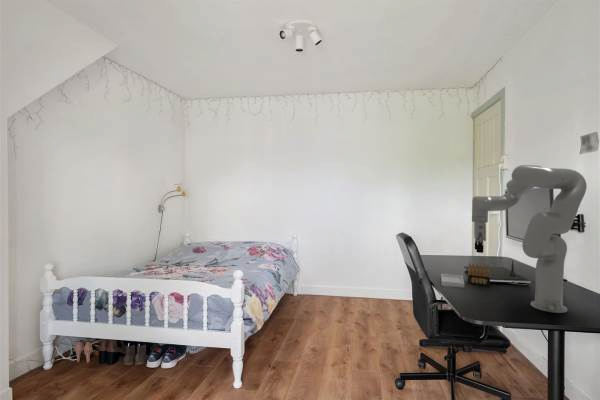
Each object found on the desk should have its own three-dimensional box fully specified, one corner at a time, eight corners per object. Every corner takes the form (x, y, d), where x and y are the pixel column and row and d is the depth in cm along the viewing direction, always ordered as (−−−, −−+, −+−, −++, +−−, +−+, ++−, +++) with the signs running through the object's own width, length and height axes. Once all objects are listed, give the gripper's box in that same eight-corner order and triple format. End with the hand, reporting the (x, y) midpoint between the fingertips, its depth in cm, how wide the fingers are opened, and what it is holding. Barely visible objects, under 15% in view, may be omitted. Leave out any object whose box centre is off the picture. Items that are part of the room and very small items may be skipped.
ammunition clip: (467, 284, 178) (467, 262, 178) (467, 283, 180) (468, 261, 180) (490, 286, 173) (490, 264, 173) (490, 286, 175) (490, 263, 174)
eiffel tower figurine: (498, 283, 182) (498, 259, 181) (495, 279, 191) (495, 256, 191) (530, 286, 176) (530, 261, 176) (525, 281, 185) (526, 258, 185)
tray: (464, 288, 170) (464, 283, 170) (441, 285, 175) (441, 281, 175) (462, 279, 187) (462, 275, 187) (441, 277, 191) (441, 273, 191)
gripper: (489, 221, 166) (488, 254, 167) (485, 218, 182) (484, 248, 183) (473, 220, 169) (472, 253, 170) (470, 217, 185) (469, 247, 186)
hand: (478, 250), depth 176 cm, fingers open, 9 cm apart
